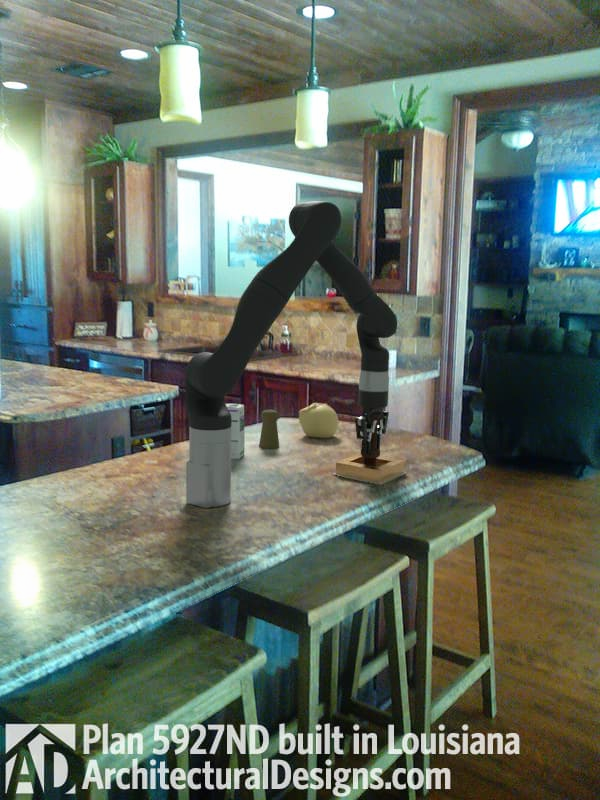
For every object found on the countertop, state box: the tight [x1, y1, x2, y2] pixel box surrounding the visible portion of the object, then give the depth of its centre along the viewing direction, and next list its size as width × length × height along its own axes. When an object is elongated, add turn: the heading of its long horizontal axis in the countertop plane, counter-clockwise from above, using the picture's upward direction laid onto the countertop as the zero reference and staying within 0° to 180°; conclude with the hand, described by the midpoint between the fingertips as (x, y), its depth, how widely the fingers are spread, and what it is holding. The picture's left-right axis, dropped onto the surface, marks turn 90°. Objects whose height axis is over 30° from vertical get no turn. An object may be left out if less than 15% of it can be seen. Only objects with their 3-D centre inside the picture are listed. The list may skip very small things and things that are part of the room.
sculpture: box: [298, 402, 340, 439], centre depth 228 cm, size 11×12×11 cm
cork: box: [258, 409, 280, 450], centre depth 213 cm, size 6×6×11 cm
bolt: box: [360, 412, 384, 467], centre depth 186 cm, size 6×5×15 cm
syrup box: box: [226, 403, 245, 460], centre depth 200 cm, size 6×6×14 cm
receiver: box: [332, 452, 407, 486], centre depth 187 cm, size 14×14×3 cm
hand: (370, 452), depth 186 cm, fingers closed on bolt, 4 cm apart
